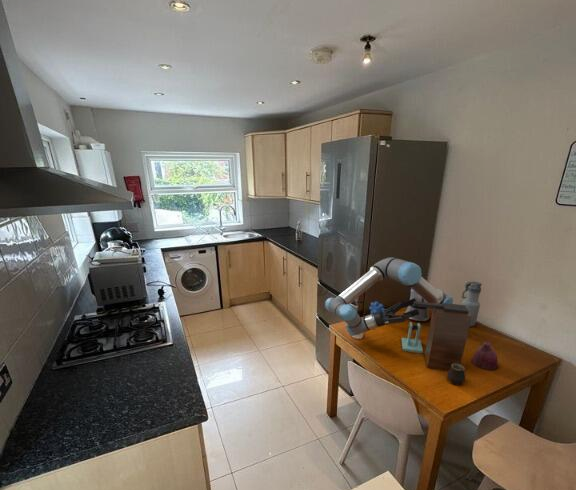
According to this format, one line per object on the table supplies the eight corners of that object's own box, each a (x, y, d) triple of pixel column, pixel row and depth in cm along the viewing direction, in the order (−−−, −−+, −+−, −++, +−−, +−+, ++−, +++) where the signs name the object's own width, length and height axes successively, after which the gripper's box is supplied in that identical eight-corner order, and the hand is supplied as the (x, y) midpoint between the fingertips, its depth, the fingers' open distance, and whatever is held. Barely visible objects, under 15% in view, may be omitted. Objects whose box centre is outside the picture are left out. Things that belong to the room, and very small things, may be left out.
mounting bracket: (401, 339, 175) (404, 318, 170) (420, 342, 172) (423, 320, 167) (402, 350, 164) (406, 328, 159) (422, 353, 161) (426, 330, 156)
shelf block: (424, 354, 160) (434, 303, 150) (453, 359, 156) (465, 306, 146) (427, 367, 149) (437, 312, 139) (458, 372, 145) (471, 316, 135)
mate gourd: (456, 375, 143) (460, 357, 140) (468, 386, 136) (472, 367, 133) (442, 377, 142) (446, 359, 139) (453, 387, 135) (457, 369, 132)
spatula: (412, 302, 150) (413, 299, 150) (464, 308, 144) (465, 305, 143) (414, 308, 144) (414, 304, 143) (468, 314, 138) (468, 310, 137)
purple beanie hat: (483, 376, 148) (488, 354, 140) (467, 362, 157) (470, 340, 149) (501, 368, 149) (506, 346, 142) (484, 355, 158) (488, 333, 151)
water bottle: (454, 321, 197) (462, 281, 188) (464, 318, 201) (473, 279, 191) (468, 328, 189) (478, 286, 179) (478, 325, 192) (488, 283, 183)
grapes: (365, 318, 201) (367, 302, 197) (369, 315, 206) (371, 298, 202) (382, 323, 195) (384, 306, 190) (386, 319, 200) (388, 303, 195)
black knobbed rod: (407, 329, 177) (408, 323, 178) (414, 330, 176) (414, 324, 177) (411, 330, 163) (411, 323, 163) (418, 331, 162) (418, 324, 162)
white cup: (358, 340, 174) (359, 325, 170) (347, 335, 179) (349, 320, 176) (366, 336, 178) (368, 321, 175) (356, 331, 184) (357, 316, 181)
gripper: (379, 316, 167) (417, 302, 158) (378, 338, 145) (422, 323, 136) (373, 305, 166) (412, 290, 157) (371, 324, 144) (416, 309, 135)
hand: (417, 305), depth 147 cm, fingers open, 13 cm apart
